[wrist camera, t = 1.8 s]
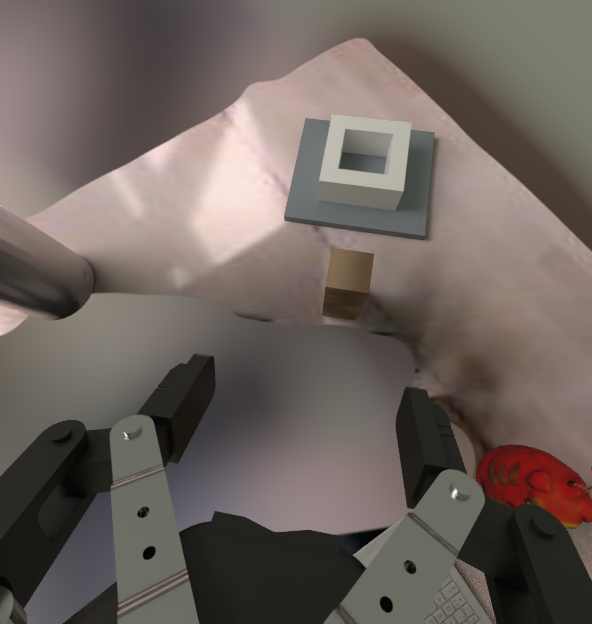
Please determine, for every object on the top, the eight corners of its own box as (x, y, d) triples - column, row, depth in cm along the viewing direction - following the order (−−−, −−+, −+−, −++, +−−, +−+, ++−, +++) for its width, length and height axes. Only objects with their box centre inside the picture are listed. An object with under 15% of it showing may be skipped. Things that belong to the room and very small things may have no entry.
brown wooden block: (322, 314, 40) (325, 286, 31) (327, 284, 41) (332, 247, 32) (355, 320, 40) (368, 293, 30) (359, 289, 41) (374, 253, 31)
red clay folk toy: (460, 488, 35) (567, 547, 20) (485, 426, 36) (602, 440, 22) (532, 530, 33) (701, 626, 19) (555, 464, 35) (729, 507, 20)
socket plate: (284, 220, 44) (281, 197, 39) (305, 123, 48) (305, 92, 43) (422, 239, 42) (436, 218, 38) (432, 138, 46) (445, 107, 42)
